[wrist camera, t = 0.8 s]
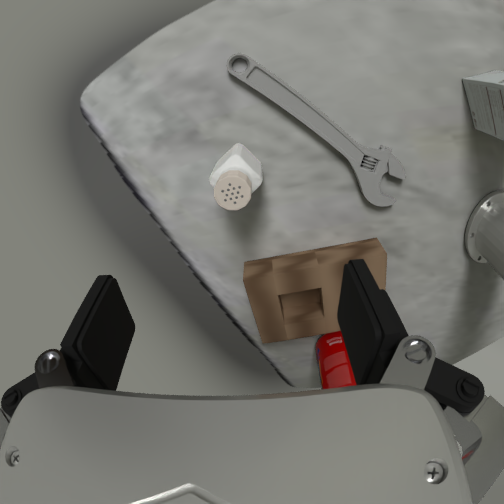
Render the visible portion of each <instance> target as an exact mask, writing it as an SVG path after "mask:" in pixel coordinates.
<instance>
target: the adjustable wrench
mask: <svg viewBox="0 0 504 504" xmlns="http://www.w3.org/2000/svg"><path fill="white" fill-rule="evenodd" d="M237 58H242V59H245V60H246V61H247V64H248V67H247V69H246V70H245V71H244V72H240V73H239V72H236V71H234V70H233V68H232V63H233V61H234V60H235V59H237ZM227 69H228V71H229V72H230V73H231V74H232V75H234V76H235V77H237V78H238V79H240V80H242V81H243V82H245V83H246V84H248V85H249V86H251V87H252V88H254V89H256V90H257V91H259V92H260V93H262V94H263V95H265V96H266V97H267V98H269V99H270V100H272V101H273V102H275V103H276V104H278V105H279V106H280V107H282V108H283V109H285V110H286V111H287V112H289V113H290V114H292V115H293V116H294V117H296V118H297V119H298V120H300V121H301V122H302V123H304V124H305V125H306V126H308V127H309V128H310V129H312V130H313V131H314V132H316V133H317V134H318V135H319V136H321V137H322V138H323V139H324V140H326V141H327V142H328V143H329V144H331V145H332V146H333V147H334V148H336V149H337V150H338V151H339V152H340V153H342V154H343V155H344V156H345V157H346V159H347V160H348V162H349V163H350V165H351V167H352V169H353V171H354V173H355V175H356V178H357V181H358V184H359V187H360V190H361V192H362V194H363V195H364V196H365V198H366V199H367V200H368V201H369V202H370V203H372V204H374V205H376V206H381V207H382V206H389V205H392V204H394V203H395V202H396V200H395V199H394V198H393V197H392V196H389V195H386V194H383V193H381V192H380V184H379V183H380V181H381V179H382V176H383V174H384V173H386V172H387V173H388V174H389V175H392V176H395V177H397V178H400V179H402V180H405V178H406V174H405V170H404V168H403V166H402V164H401V162H400V161H399V160H398V159H397V158H396V157H395V156H394V155H393V154H392V153H391V152H392V149H391V148H389V147H385V146H383V145H381V146H380V149H374V148H367V147H364V146H362V145H360V144H358V143H357V142H356V141H355V140H353V139H352V138H351V137H350V136H349V135H348V134H347V133H346V132H345V131H344V130H343V129H341V128H340V127H339V126H338V125H337V124H336V123H335V122H333V121H332V120H331V119H330V118H329V117H328V116H327V115H325V114H324V113H323V112H322V111H321V110H319V109H318V108H317V107H316V106H315V105H313V104H312V103H311V102H310V101H308V100H307V99H306V98H305V97H303V96H302V95H301V94H300V93H298V92H297V91H296V90H295V89H293V88H292V87H291V86H289V85H288V84H287V83H285V82H284V81H283V80H281V79H280V78H279V77H277V76H276V75H274V74H273V73H272V72H270V71H269V70H267V69H266V68H265V67H263V66H262V65H260V64H259V63H257V62H256V61H254V60H253V59H251V58H250V57H248V56H247V55H245V54H241V53H238V54H234V55H232V56H231V57H230V58H229V59H228V61H227ZM364 155H366V156H365V157H364ZM363 158H365V159H364V160H363ZM362 161H364V162H363V163H361V162H362ZM361 164H362V166H360V165H361Z"/></svg>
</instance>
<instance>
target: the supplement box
mask: <svg viewBox="0 0 504 504" xmlns="http://www.w3.org/2000/svg"><path fill="white" fill-rule="evenodd" d="M462 80H463V84H464V88H465V91H466V95H467V99H468V103H469V106H470V111H471V115H472V119H473V124H474V128H475V129H476V130H479V131H482V132H484V133H487V134H489V135H491V136H494V137H496V138H498V139H501V140H503V141H504V71H496V70H495V71H491V72H488V73H484V74H480V75H476V76H472V77H467V78H463V79H462Z"/></svg>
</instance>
